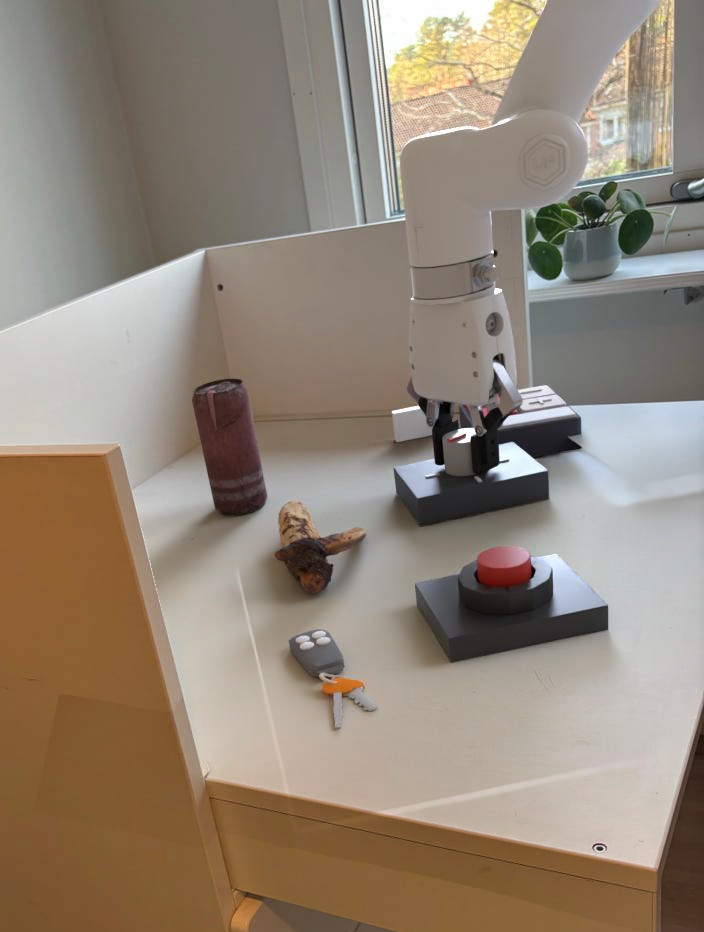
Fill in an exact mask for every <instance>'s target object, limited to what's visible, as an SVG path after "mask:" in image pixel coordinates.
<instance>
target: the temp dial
mask: <svg viewBox="0 0 704 932" xmlns="http://www.w3.org/2000/svg"><path fill="white" fill-rule="evenodd" d="M474 434H476V433H475V431H474V428H464V429H462V428H459V429H458V430H455V431H451V432H449V433H447V434H445V435H444V436H443V438H442V441H443V452H444V464H445V472H446V473H447V474H449V475H453V476H470V475H475V473H474V472H473V469H472V455H471V442H470V438H471V436H472V435H474Z"/></svg>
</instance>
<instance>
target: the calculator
mask: <svg viewBox="0 0 704 932" xmlns="http://www.w3.org/2000/svg"><path fill="white" fill-rule="evenodd" d="M517 390H518V392H519V394H520V395H521V397H522V399H523V404H522V405H521V406H520V407H518V408H517V409H516V410H515V411H513V412H512V413H510V415H509V416H508V417H507V419H506V420H505V421H504V422H503V426H502V427H501V428H498V442H499V445H500V444H505V443H510V442H514V443H515V444H516V445H517V446H519V447H520V448H521V449H522V450H524V451H525V452H526V453H527V454H528V455H530V456H531V457H532V458H534V457H541V456H547V455H554V454H560V453H567V452H572V451H579V450H581V449H582V448H583V447H582V446H581V445H580V444H578V443H577V442H576V441H574V440H573V439H571V438H570V437H576V436H580V435H582V417H581V416H580V415H579V414H578V413H577V412H576V411H575V410H574V409H573V408H572V407H571V406H570V405H569V404H568V403H566V401H565V400H564V399H562V398H561V397H560V396H559V395H558V394H557V393H556V392H555V391H554V390H553V389H552V388H551V387H550V386H549V385H538V386H533V387H527V388H521V389H517ZM497 398H498V402H499V403H500V398H499V396H498V394H497ZM482 410H483V414H484V418H485V416H486V415H487V414H488V412H487V408H486V406H485V407H482ZM458 413H459V427H460V429H464V428H474V427H473V423H472V419H471V415H470V411H469V407H468V405H465V404H458Z"/></svg>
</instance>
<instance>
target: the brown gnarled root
mask: <svg viewBox="0 0 704 932" xmlns="http://www.w3.org/2000/svg"><path fill="white" fill-rule="evenodd" d="M277 521H278V522H277V523H278V526H279V527H278V534H279V539H280V546H281V548H279V549H278V550H277V551H276V552H274V559H275V560H276V561H279V562H284V565H285V566H286V568H287V570H288V573H289V574H290V575H291V576H292V577H293V578H294V580H296V581H297V582H300V585H301V586H302V589H303V590H305V591H307V592H308V593H312V594H318V593H320V592H321V591H325V590H326V589H327V587H328V585H329V584H330V583H331V581H332V576H333V572H334V564H333V563H329V561H328V560H329V559H327V557H329V556H335V555H338V554H340V553H343V552H345V551H349V550H350V549H353V548H354V547H355V548H356V547H357V546H358V545H360V544H361V543H362V542H363V541H364V539H365V538H366V536H367V531H366V530H365V529H364V528H362V527H358V526H357V527H353V528H351V529H348V530H346V531H343V532H339V533H332V534H329V535H326V536H323V537H321V536H320V535H319V533H318V531H317V528H316V527H315V524H314V523H315V522H314V521H313V519H312V517H311V515H310V513H309V511H308V510H307V508H306V507H305V506H304V504H303V503H302V502H300V501H298V500H292V501H288V502H287V503H285V504H283V506H282V507H281V509H279V512H278V518H277Z"/></svg>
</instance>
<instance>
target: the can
mask: <svg viewBox="0 0 704 932" xmlns="http://www.w3.org/2000/svg"><path fill="white" fill-rule="evenodd" d="M192 392H193V394H192V398H191V402H192V407H193V412H194V416H195V421H196V425H197V431H198V435H199V440H200V445H201V450H202V454H203V458H204V464H205V468H206V475H207V477H208V482H209V487H210V492H211V497H212V501H213V506H214V508H215V510H216V511H217V512H218V513H219V514H221V515H222V516H229V517H233V516H235V517H236V516H242V515H246V514H249V513H253V512H255V511H258V510H259V509H261V508H262V507H264V505H265V504H266V501H267V499H268V492H267V486H266V481H265V476H264V470H263V465H262V459H261V454H260V448H259V443H258V437H257V433H256V427H255V426H256V425H255V420H254V416H253V410H252V406H251V405H252V404H251V400H250V393H249V389H248V386H246V385H245V383H244V380H243V379H240V378H232V377H231V378H222V379H218V380H217V379H216V380H213V381H208V382H206V383H203V384H201V385H198V386H196V387H195V388H194V390H192Z"/></svg>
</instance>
